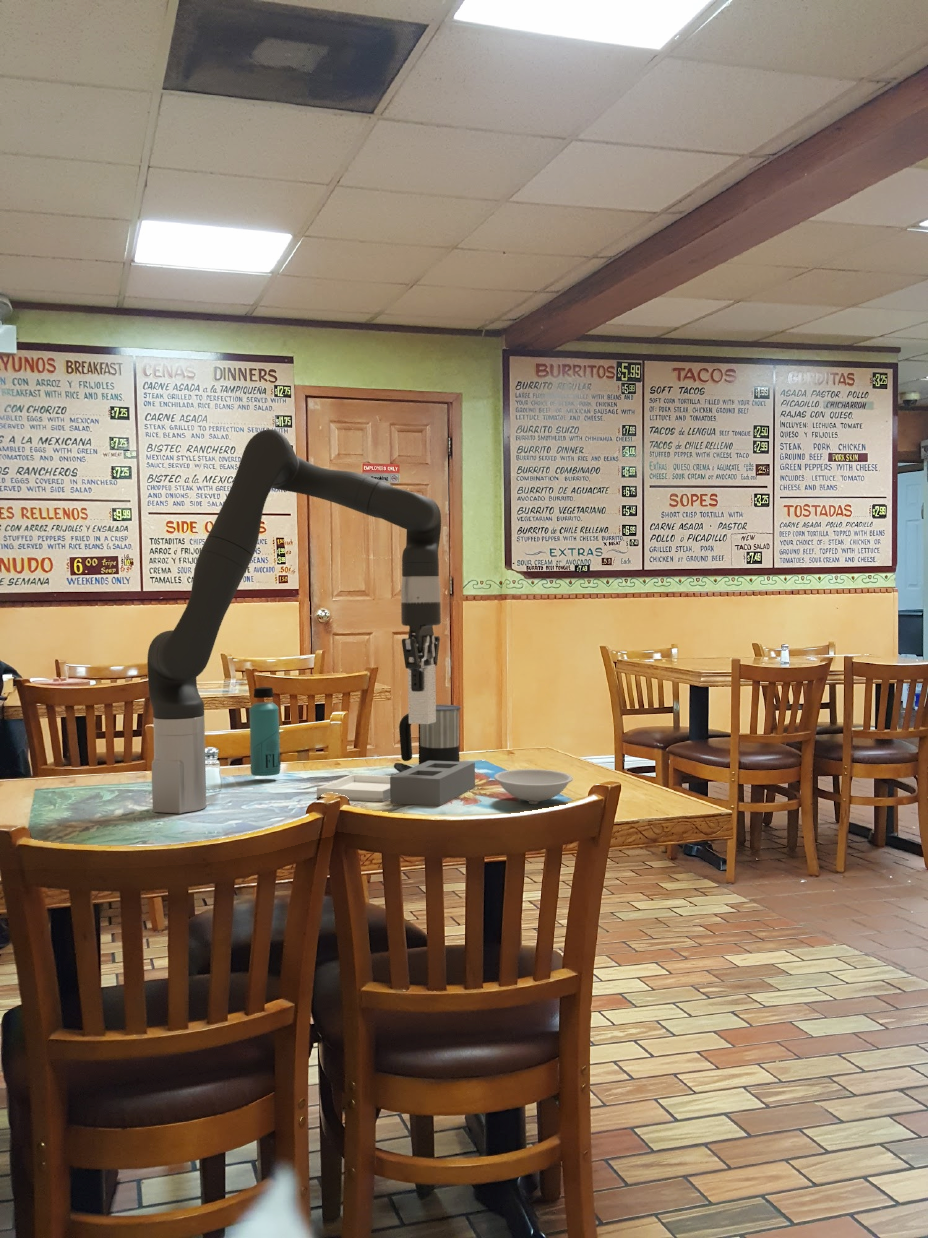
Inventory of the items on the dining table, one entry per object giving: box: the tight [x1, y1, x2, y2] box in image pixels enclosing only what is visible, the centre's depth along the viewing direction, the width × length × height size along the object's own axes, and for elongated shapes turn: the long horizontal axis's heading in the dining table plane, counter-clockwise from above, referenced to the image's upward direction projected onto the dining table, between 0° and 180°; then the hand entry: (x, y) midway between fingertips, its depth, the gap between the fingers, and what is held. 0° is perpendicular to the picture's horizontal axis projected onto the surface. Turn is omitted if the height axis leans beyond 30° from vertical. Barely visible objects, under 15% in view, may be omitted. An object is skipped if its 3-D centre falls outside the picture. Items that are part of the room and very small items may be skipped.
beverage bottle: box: [249, 686, 282, 777], centre depth 229 cm, size 6×7×20 cm
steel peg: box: [407, 665, 437, 725], centre depth 205 cm, size 4×4×11 cm
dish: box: [493, 768, 574, 805], centre depth 200 cm, size 18×14×5 cm
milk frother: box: [393, 704, 461, 773], centre depth 231 cm, size 14×16×15 cm
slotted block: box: [389, 761, 476, 807], centre depth 210 cm, size 20×10×5 cm, turn 160°
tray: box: [316, 773, 392, 802], centre depth 214 cm, size 16×14×2 cm
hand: (421, 689), depth 205 cm, fingers closed on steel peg, 4 cm apart
